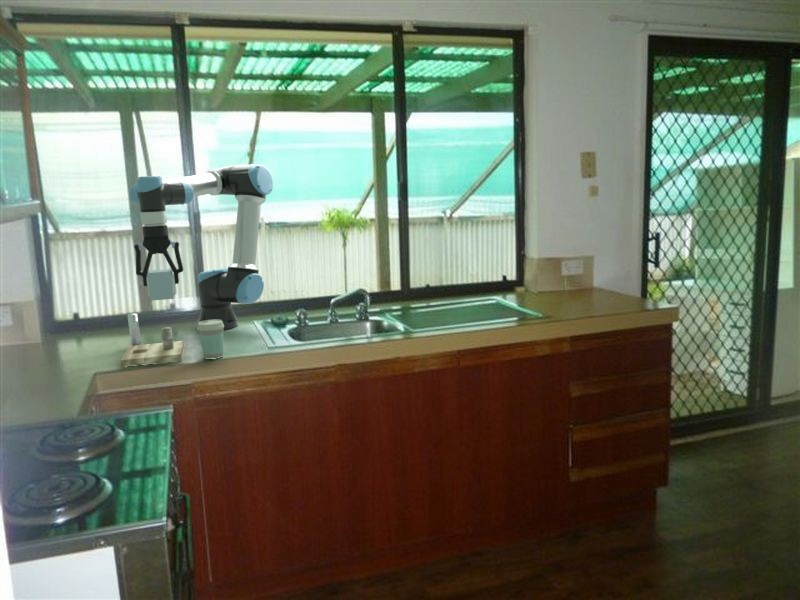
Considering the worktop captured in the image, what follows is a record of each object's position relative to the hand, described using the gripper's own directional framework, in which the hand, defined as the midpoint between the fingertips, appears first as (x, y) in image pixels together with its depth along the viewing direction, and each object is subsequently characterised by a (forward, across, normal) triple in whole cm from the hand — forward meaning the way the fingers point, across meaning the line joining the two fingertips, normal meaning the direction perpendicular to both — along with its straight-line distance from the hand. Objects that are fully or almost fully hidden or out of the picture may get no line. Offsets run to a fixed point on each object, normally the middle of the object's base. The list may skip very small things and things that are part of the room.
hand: (162, 294), depth 199 cm
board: (+21, +5, 0) cm, 21 cm away
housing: (+1, 0, 0) cm, 1 cm away
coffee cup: (+21, -14, +8) cm, 27 cm away
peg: (+21, +13, -17) cm, 30 cm away
